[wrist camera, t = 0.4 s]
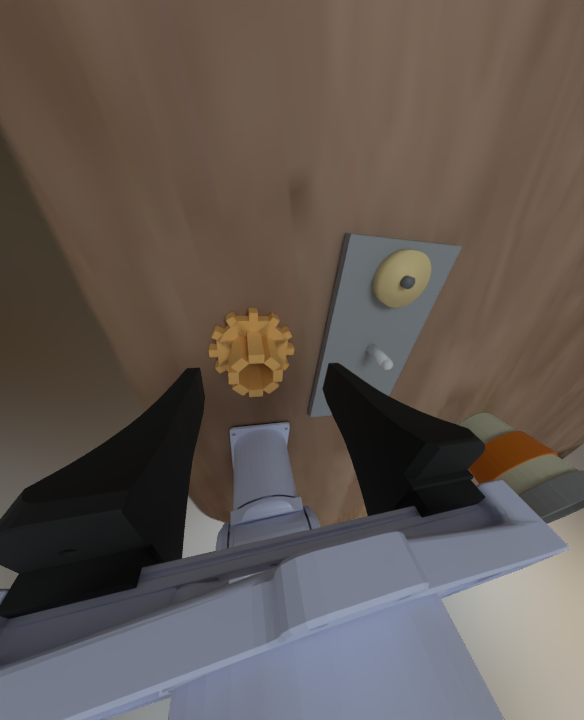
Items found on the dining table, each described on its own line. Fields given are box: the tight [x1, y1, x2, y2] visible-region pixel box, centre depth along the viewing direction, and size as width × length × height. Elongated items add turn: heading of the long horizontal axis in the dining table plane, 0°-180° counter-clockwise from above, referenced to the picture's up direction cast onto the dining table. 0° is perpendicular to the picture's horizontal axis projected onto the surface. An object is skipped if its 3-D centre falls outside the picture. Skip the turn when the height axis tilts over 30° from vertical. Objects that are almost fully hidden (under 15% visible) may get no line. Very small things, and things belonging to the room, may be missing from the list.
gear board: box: [308, 233, 462, 417], centre depth 23 cm, size 21×11×5 cm, turn 174°
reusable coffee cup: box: [458, 413, 584, 524], centre depth 36 cm, size 13×13×15 cm
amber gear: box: [209, 308, 294, 397], centre depth 19 cm, size 8×8×5 cm
